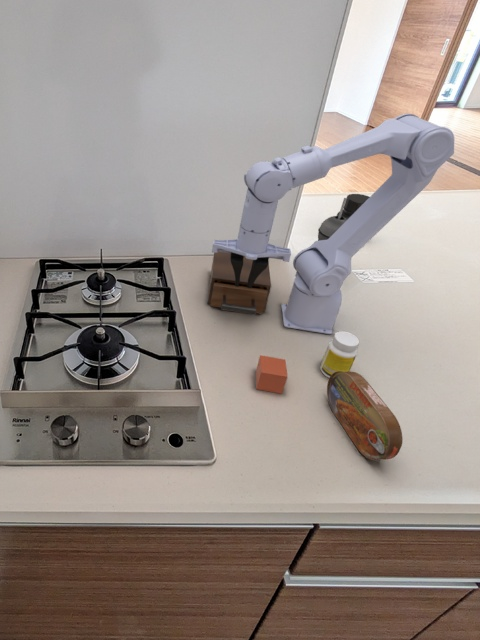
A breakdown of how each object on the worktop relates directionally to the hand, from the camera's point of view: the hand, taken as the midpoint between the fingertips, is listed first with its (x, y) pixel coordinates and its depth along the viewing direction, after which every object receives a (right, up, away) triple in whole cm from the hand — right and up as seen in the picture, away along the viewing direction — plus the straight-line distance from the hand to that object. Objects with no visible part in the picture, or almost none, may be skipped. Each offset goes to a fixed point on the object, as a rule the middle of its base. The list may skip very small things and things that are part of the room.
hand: (243, 284), depth 90 cm
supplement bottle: (+14, -16, -8) cm, 23 cm away
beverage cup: (+27, +2, +21) cm, 34 cm away
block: (+1, -18, -10) cm, 20 cm away
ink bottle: (+42, +13, +36) cm, 57 cm away
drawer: (+2, -4, +10) cm, 11 cm away
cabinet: (+3, -2, +14) cm, 14 cm away
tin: (+12, -23, -18) cm, 32 cm away
